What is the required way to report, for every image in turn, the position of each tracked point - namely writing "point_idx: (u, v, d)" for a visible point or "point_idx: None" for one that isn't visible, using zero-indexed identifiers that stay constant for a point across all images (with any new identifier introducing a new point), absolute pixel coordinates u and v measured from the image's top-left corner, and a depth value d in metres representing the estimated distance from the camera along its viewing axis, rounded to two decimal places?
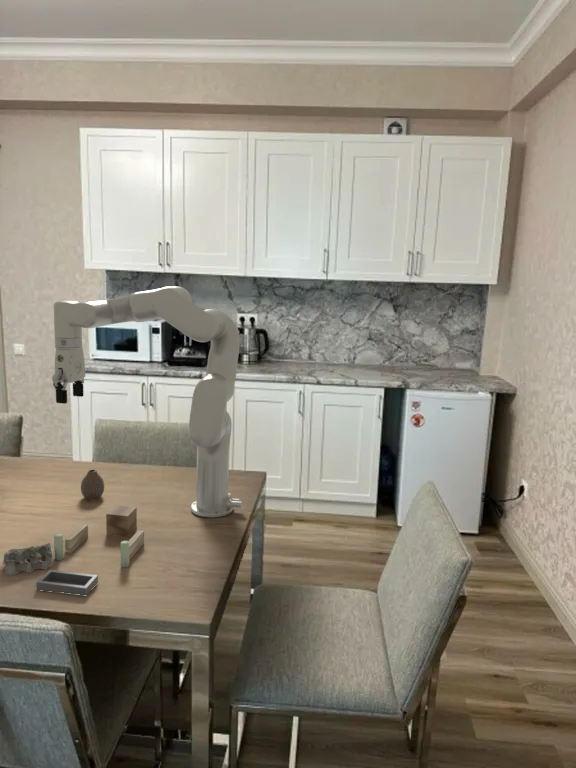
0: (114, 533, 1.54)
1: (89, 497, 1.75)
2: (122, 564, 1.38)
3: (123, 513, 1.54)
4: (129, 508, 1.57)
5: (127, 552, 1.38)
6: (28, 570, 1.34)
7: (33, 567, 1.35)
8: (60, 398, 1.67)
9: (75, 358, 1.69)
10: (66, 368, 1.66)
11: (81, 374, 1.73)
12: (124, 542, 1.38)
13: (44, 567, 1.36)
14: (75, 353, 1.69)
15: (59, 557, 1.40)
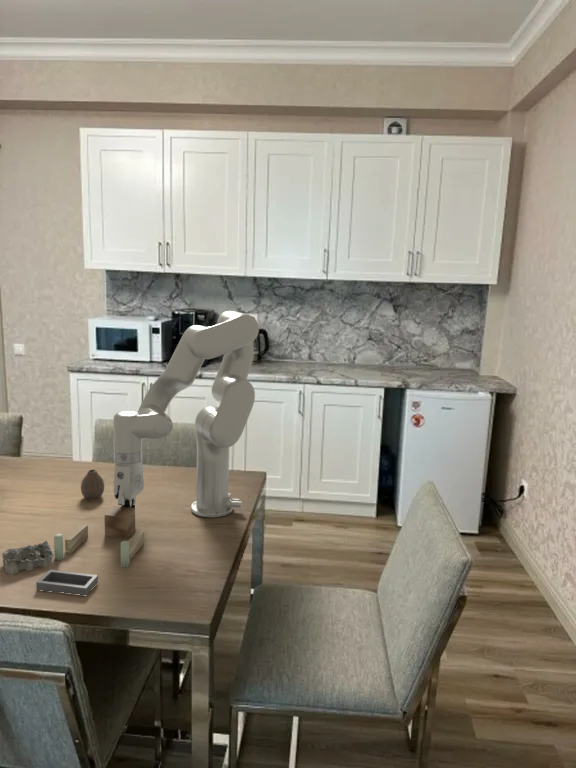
0: (112, 534, 1.53)
1: (89, 497, 1.75)
2: (122, 564, 1.38)
3: (122, 514, 1.53)
4: (127, 509, 1.57)
5: (127, 552, 1.38)
6: (29, 568, 1.35)
7: (34, 565, 1.36)
8: None
9: (135, 473, 1.57)
10: (126, 486, 1.54)
11: (140, 487, 1.61)
12: (124, 542, 1.38)
13: (45, 565, 1.37)
14: (136, 467, 1.57)
15: (59, 557, 1.40)
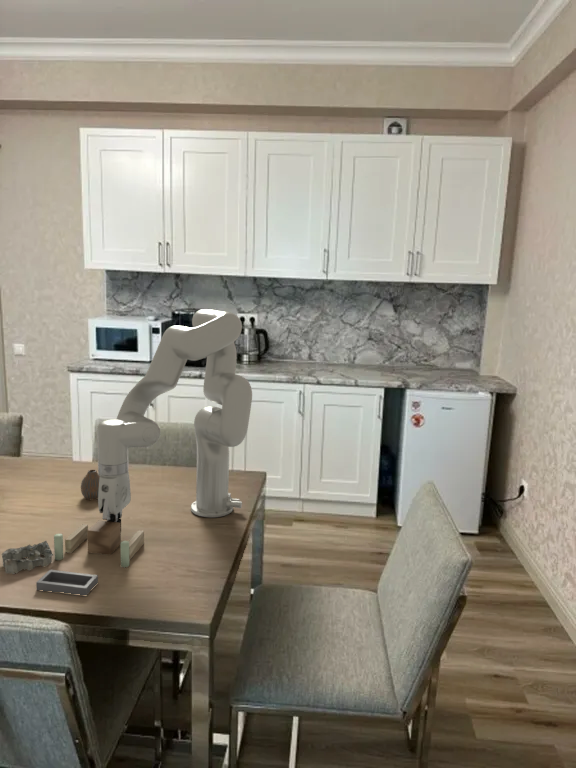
0: (96, 551, 1.44)
1: (89, 497, 1.75)
2: (122, 564, 1.38)
3: (106, 530, 1.44)
4: (112, 524, 1.47)
5: (127, 552, 1.38)
6: (29, 568, 1.35)
7: (34, 565, 1.36)
8: None
9: (121, 486, 1.48)
10: (111, 499, 1.45)
11: (127, 500, 1.52)
12: (124, 542, 1.38)
13: (45, 564, 1.37)
14: (121, 480, 1.48)
15: (59, 557, 1.40)
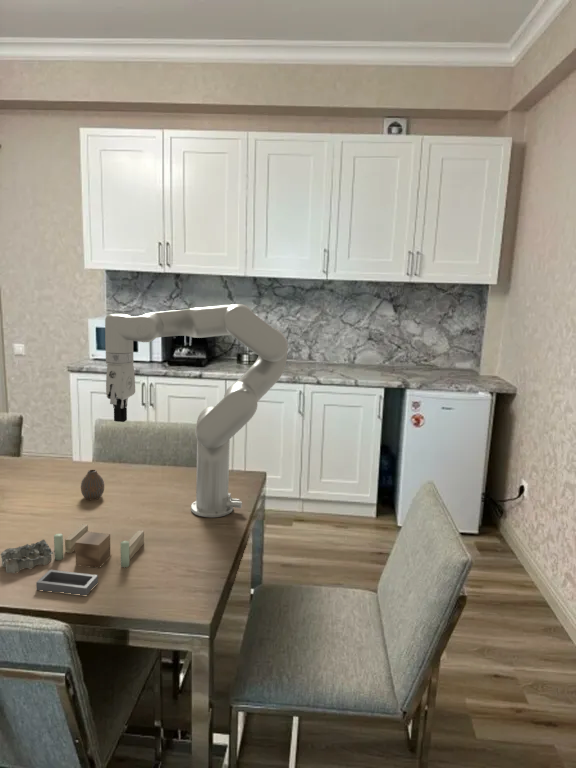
0: (84, 564, 1.38)
1: (89, 497, 1.75)
2: (122, 564, 1.38)
3: (94, 542, 1.38)
4: (102, 535, 1.41)
5: (127, 552, 1.38)
6: (30, 567, 1.36)
7: (34, 563, 1.37)
8: (118, 416, 1.64)
9: (127, 374, 1.61)
10: (118, 385, 1.58)
11: (132, 390, 1.66)
12: (124, 542, 1.38)
13: (45, 562, 1.38)
14: (127, 369, 1.61)
15: (59, 557, 1.40)
